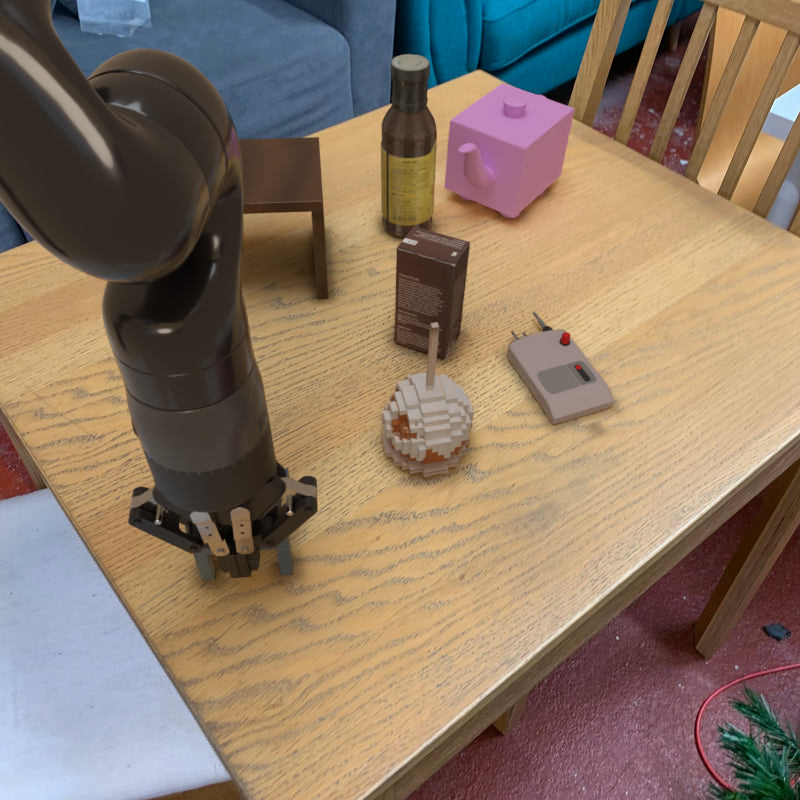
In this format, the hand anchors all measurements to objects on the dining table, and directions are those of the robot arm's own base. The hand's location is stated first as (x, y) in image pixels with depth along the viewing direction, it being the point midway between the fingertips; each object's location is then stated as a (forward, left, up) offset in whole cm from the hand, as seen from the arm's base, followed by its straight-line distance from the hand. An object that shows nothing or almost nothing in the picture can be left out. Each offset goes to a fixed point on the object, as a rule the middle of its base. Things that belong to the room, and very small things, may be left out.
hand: (241, 567), depth 58 cm
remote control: (+30, +21, -4) cm, 37 cm away
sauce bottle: (+18, +47, -4) cm, 51 cm away
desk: (0, +40, -4) cm, 41 cm away
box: (+18, +27, -4) cm, 33 cm away
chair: (0, +5, -4) cm, 6 cm away
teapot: (+30, +52, -4) cm, 60 cm away
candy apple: (+16, +13, -4) cm, 21 cm away
